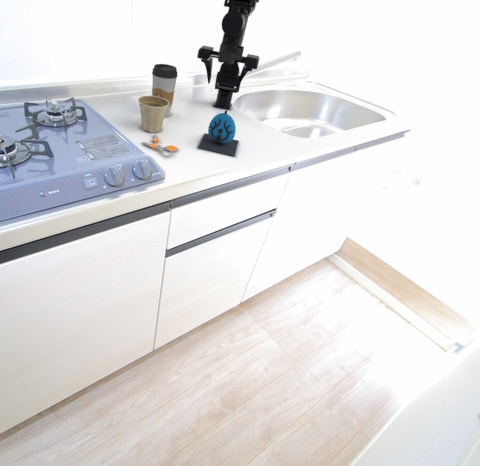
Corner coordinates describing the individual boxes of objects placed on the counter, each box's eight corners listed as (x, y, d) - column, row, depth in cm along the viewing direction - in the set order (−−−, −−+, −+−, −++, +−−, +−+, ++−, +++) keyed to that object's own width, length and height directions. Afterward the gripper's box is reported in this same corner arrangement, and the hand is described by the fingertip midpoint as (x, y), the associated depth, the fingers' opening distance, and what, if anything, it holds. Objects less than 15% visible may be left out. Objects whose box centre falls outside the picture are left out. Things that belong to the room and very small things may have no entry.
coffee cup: (145, 114, 112) (148, 66, 103) (155, 107, 119) (158, 61, 109) (167, 120, 111) (172, 72, 101) (176, 112, 117) (182, 67, 107)
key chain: (183, 153, 93) (183, 150, 93) (163, 158, 89) (163, 155, 89) (156, 135, 100) (157, 132, 100) (136, 139, 96) (137, 137, 96)
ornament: (203, 142, 100) (210, 109, 93) (208, 136, 103) (214, 104, 97) (229, 149, 98) (237, 116, 91) (233, 144, 101) (241, 112, 95)
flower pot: (172, 130, 105) (175, 103, 99) (151, 137, 99) (153, 109, 93) (151, 120, 109) (154, 93, 103) (130, 126, 103) (131, 98, 98)
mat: (204, 134, 105) (204, 133, 105) (238, 142, 104) (238, 140, 104) (197, 148, 97) (198, 146, 97) (234, 156, 96) (234, 155, 95)
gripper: (198, 29, 92) (189, 87, 102) (264, 41, 90) (248, 99, 100) (205, 24, 100) (196, 78, 110) (265, 35, 98) (251, 89, 108)
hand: (222, 86), depth 107 cm, fingers open, 9 cm apart
